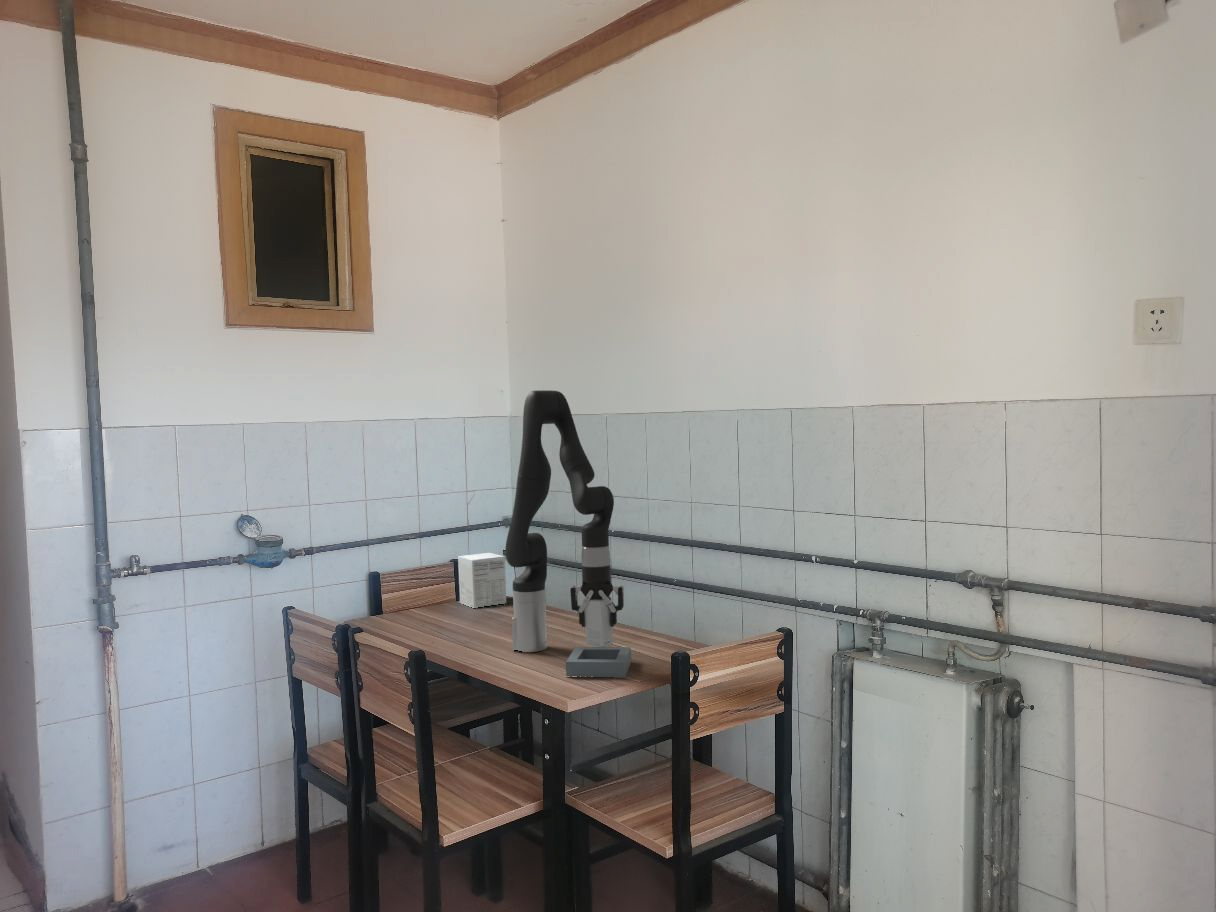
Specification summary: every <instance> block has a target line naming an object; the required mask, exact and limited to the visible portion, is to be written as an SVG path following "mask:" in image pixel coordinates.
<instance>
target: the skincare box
mask: <svg viewBox="0 0 1216 912" xmlns="http://www.w3.org/2000/svg"><path fill="white" fill-rule="evenodd" d="M608 599H609V598H608ZM609 600H610V599H609ZM583 601H584V599H583ZM583 601H582V602H583ZM610 613H611V610H610V608H609V607H608V606H607V605H606V603H605V600H602V599H598V600H589V602H588V604H587V605H586V607H585V609H584V618H585V627H584V630H585V642H586V643H585V644H586V645H588V646H592V647H610V646H611V645H613V644H614V640H613V627H611V614H610Z"/></svg>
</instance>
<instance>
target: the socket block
mask: <svg viewBox="0 0 1216 912" xmlns="http://www.w3.org/2000/svg"><path fill="white" fill-rule="evenodd" d="M631 664H632V647H631V646H624V647H623V646H622V647H621V646H606V647H600V646H575V647H574V649H573V650H572V651H571V653H570V654H569V656H568V658H567V659H566V661H565V677H566V676H570V677H569V678H572V676H577V677H580V676H581V677H585V676H586V677H591V676H593V677H614V678H613V679H624V678H626V676H627V673H628V671H629V669H630V666H631Z"/></svg>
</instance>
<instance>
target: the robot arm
mask: <svg viewBox="0 0 1216 912" xmlns="http://www.w3.org/2000/svg"><path fill="white" fill-rule="evenodd" d="M523 405H524V406H523V413H522V441H521V451H520V457H519V459H520V460H519V465H518V472H517V478H516V486H515V487H516V489H515V498H514V502H513V503H514V505H513V509H512V515H511V520H510V523H509V529H508V532H507V536H506V541H505V560H506V561H507V564H508V565H509V566H511V567H512V568H523V567H525V569H524V571H523V572H522V573H521V574H520V575H518V576H517V577H516V578H515V579H513V581H512V602H513V605H512V607H513V617H512V618H511V625H512V626H511V627H512V628H511V630H512V631H511V632H512V634H511V635H512V651H513V650H518V651H517V652H519V651H522V653H535V652H542V651H545V650H546V649H548V639H547V638H548V635H547V613H546V612H547V610H546V606H547V605H546V581H547V576H548V547H547V542H546V540H545V537H544V536H543V535H542V534H541V533H539V532H530V533H529V531H530V526H531V524H532V520H533V519H534V517H535V515H536V514H537V513H538V511H539V510H540V509H541V507H542V505H543V504H544V503H545V501H546V499H547V497H548V495H549V491H550V485H551V478H552V468H551V465H550V462H549V459H548V456H547V455H546V452H545V451H544V448H543V444H542V430H543V425H555V427H556V429H557V430H558V433H559V434H560V446H559V452H558V453H559V461H560V464H561V467H562V469H563V471H564V472H565V475H566V477H567V479H568V482H569V486H570V491H571V498H572V503H573V507H574V508H575V509H576V511H577V512H578V513H580V514H581V515H584V516H588V515H593V517H592V520H591V521H590V522H588V523H585V524H584V525H582V527H581V553H580V554H581V558H580V559H581V578H582V580H581V581H582V583H581V586H575V585H573V586H571V588H570V589H569V590H570V591H569V592H570V604H571V605H570V606H571V610H572V611H576V612H578V623H579V625H581V627H582V628H585V618H584V609H585V607H586V605H587V604H588V602H589V600H598V599H602V600H605V603H606V605H607V606H608V607H609V608H610V610H611V613H610V614H611V627H612V628H614V627H615V625H617V622H618V614H617V613H618V611H622V610H623V608H624V607H625V606H624V605H625V604H624V603H625V601H624V599H625V598H624V594H625V593H624V592H625V591H624V590H625V588H624V586H623V585H619V586H616V585H613V584H612V569H611V568H612V566H611V562H612V558H611V551H610V543H609V542H610V541H609V540H610V539H609V538H610V537H609V528H610V525H611V520H612V515H613V512H614V508H615V507H614V505H615V500H614V494H613V493H612V490H611V489H610V488H609V487H607V486H605V485H600V486H590V487H589V486H588V484H590V483H592V481H593V480H594V479H595V476H596V475H595V471H594V468H593V467H592V463H591V462H590V460H589V458H588V456H587V455H586V452H585V450H584V449H583V446H582V444H581V441H580V438H579V434H578V432H577V428H576V424H575V420H574V418H573V414H572V412H571V409H570V405H569V402H568V400H567V398H566V396H565V395H564V394H563V393H562V392H561V391H559V390H548V389H547V390H543V389H542V390H532V391H530V392H528V394H527V395H526V397H525V400H524V404H523ZM580 592H581V593H582V595H584V599H583V600H584V601H582V603H581V604H580V605H579V604H578V595H579V594H580ZM612 592H614V594H615V595H616V596H617V605H616V604H615V603H614V601H613V599H612V598H611V596H610V595H611V594H612ZM609 599H610V600H609Z"/></svg>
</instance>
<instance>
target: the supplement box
mask: <svg viewBox="0 0 1216 912" xmlns="http://www.w3.org/2000/svg"><path fill="white" fill-rule="evenodd" d="M457 563H458V564H457V565H458V585H459V589H458V590H459V604H460V603H461V604H460V605H463V604H464V605H463V606H465V605H466V607H468V606H469V608H471V607H472V608H471V609H473V608H476V609H479V608H478V607H483V608H485V607H484V606H490V605H497V606H499V605H498V604H504V603H506V604H507V583H506V579H507V578H506V555H500V554H496V553H492V552H485V553H474V554H466V555H458V556H457ZM504 605H505V604H504ZM490 607H491V606H490Z"/></svg>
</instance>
